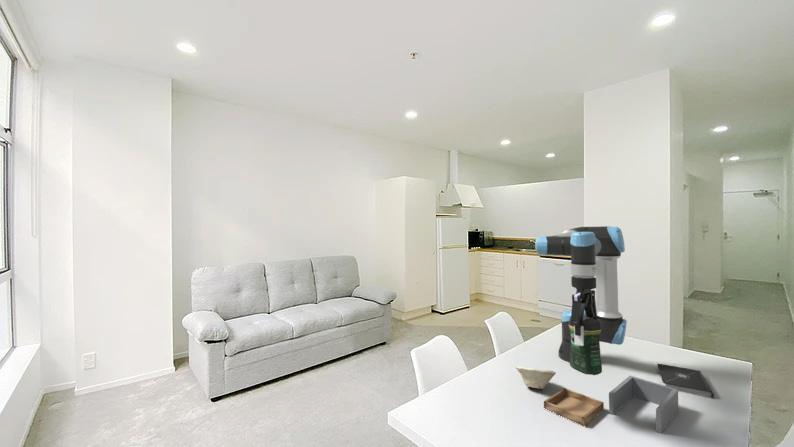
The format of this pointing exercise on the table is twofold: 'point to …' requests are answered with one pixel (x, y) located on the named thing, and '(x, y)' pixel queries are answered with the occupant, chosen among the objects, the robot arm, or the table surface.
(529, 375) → the bowl
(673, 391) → the bay
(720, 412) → the table surface
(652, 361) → the table surface
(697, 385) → the book
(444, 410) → the table surface
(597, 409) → the tray
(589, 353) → the coffee jar
